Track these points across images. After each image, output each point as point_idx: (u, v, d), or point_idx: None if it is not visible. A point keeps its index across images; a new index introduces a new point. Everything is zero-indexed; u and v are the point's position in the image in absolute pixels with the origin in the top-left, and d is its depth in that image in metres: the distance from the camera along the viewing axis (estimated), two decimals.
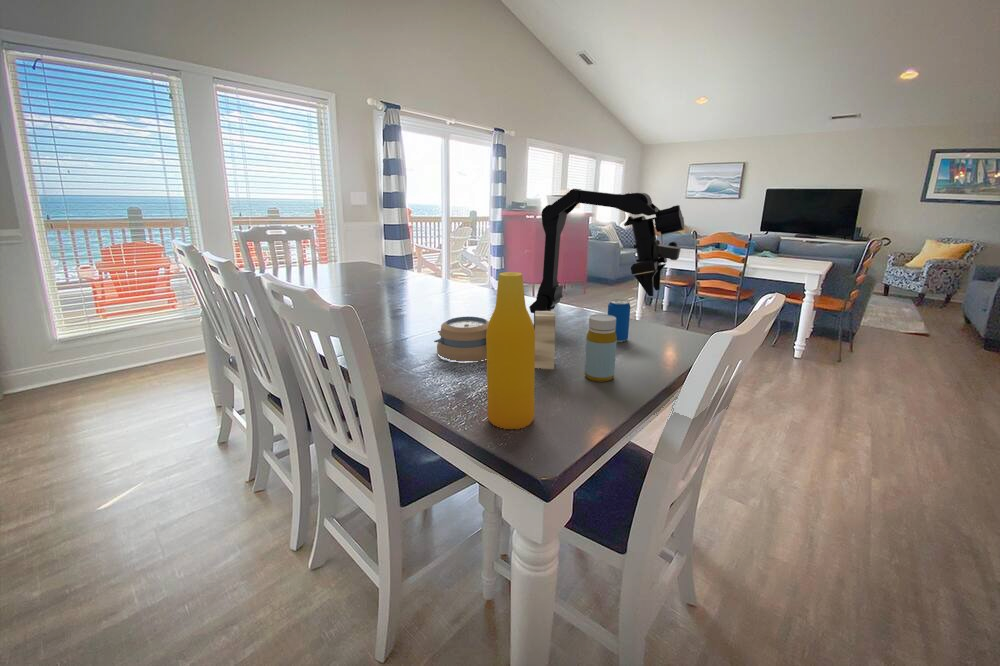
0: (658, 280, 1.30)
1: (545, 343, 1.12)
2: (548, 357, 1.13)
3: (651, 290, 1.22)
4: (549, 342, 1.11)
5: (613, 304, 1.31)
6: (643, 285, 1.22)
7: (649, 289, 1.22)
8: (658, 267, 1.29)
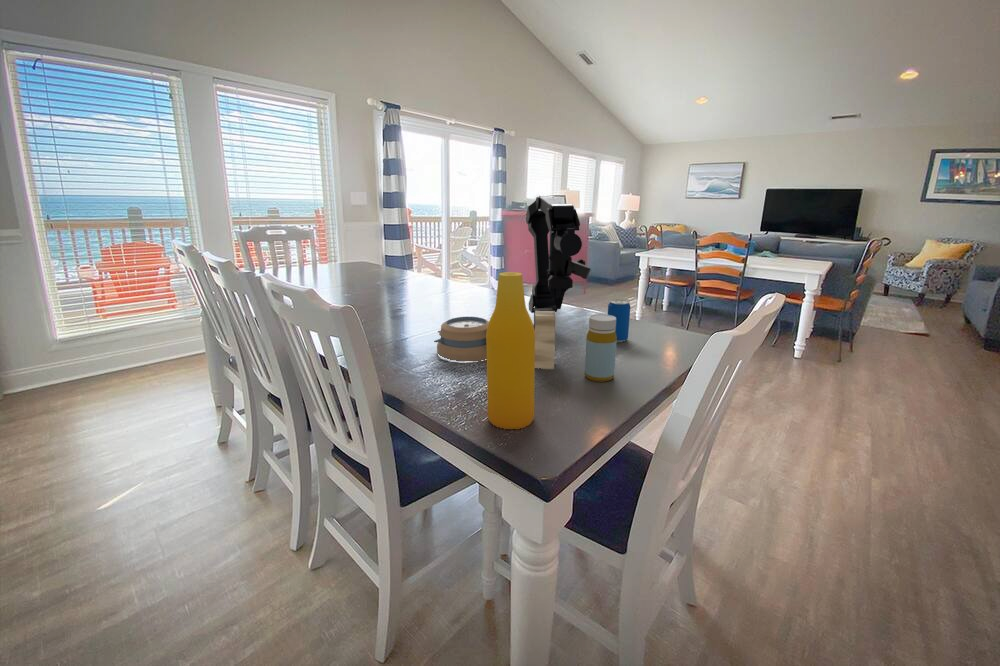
0: None
1: (545, 343, 1.12)
2: (548, 357, 1.13)
3: (560, 303, 1.23)
4: (549, 342, 1.11)
5: (613, 304, 1.31)
6: (554, 297, 1.22)
7: (558, 302, 1.23)
8: None
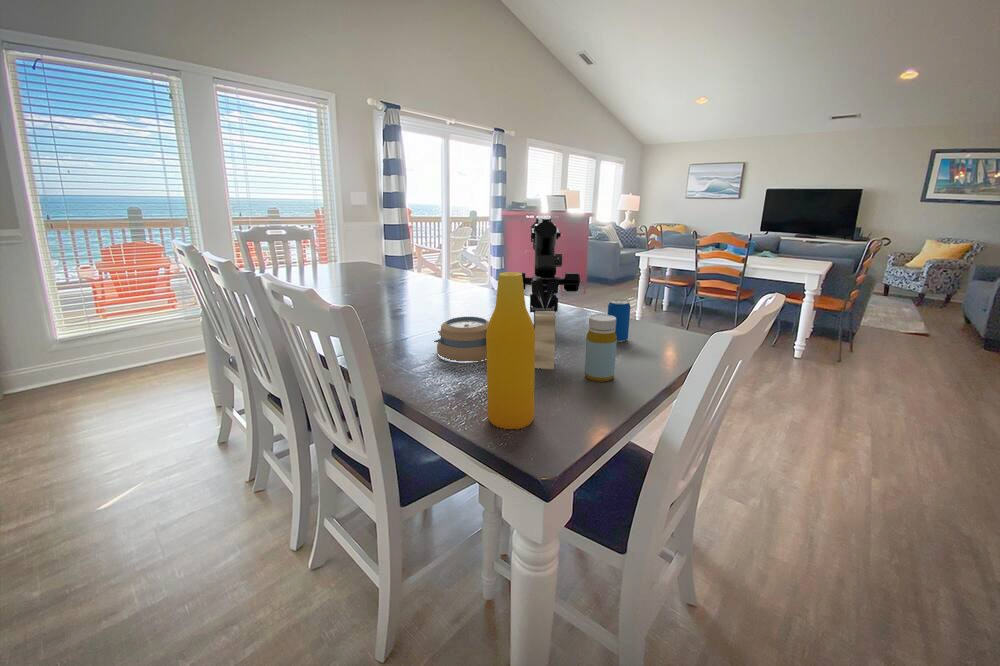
0: (545, 298, 1.20)
1: (545, 343, 1.12)
2: (548, 357, 1.13)
3: (541, 302, 1.20)
4: (549, 342, 1.11)
5: (613, 304, 1.31)
6: (539, 299, 1.22)
7: (542, 302, 1.20)
8: (547, 285, 1.21)
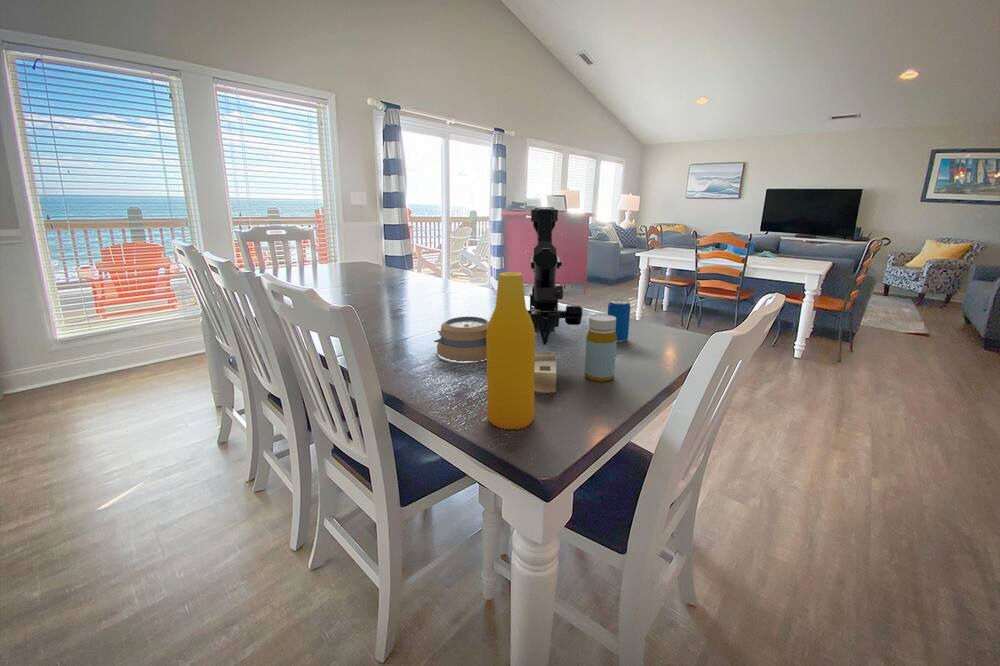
0: (545, 333, 1.12)
1: None
2: None
3: (541, 337, 1.12)
4: None
5: (613, 304, 1.31)
6: (539, 334, 1.14)
7: (541, 337, 1.12)
8: None
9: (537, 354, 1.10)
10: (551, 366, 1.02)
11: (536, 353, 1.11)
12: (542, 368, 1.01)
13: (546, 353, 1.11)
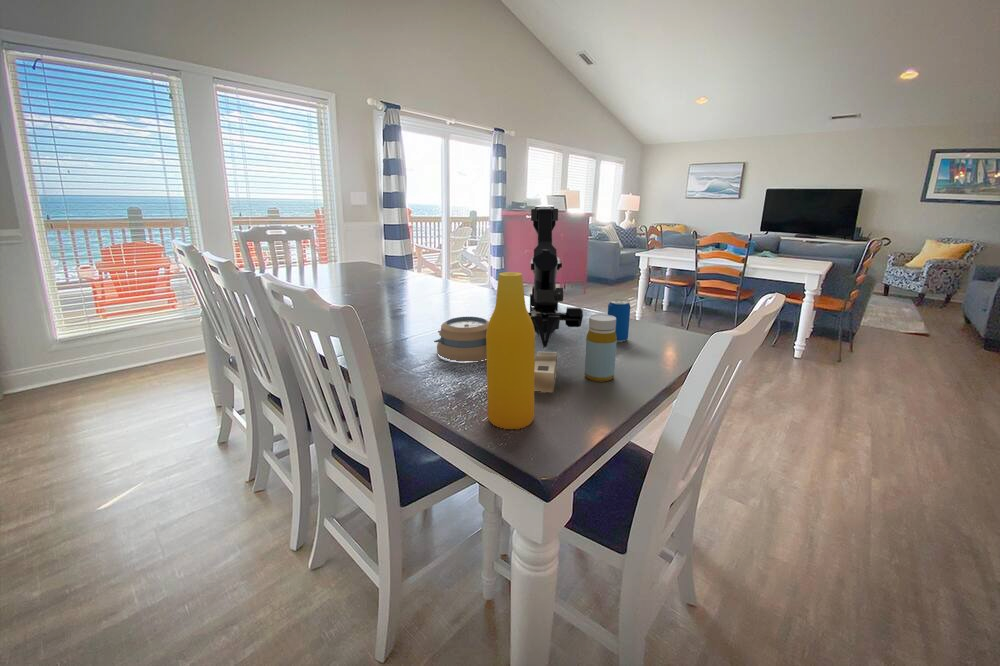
0: None
1: None
2: None
3: (541, 339, 1.10)
4: None
5: (613, 304, 1.31)
6: (539, 336, 1.13)
7: (541, 340, 1.11)
8: None
9: (538, 354, 1.10)
10: (550, 366, 1.02)
11: (538, 353, 1.11)
12: (540, 368, 1.01)
13: (548, 353, 1.11)
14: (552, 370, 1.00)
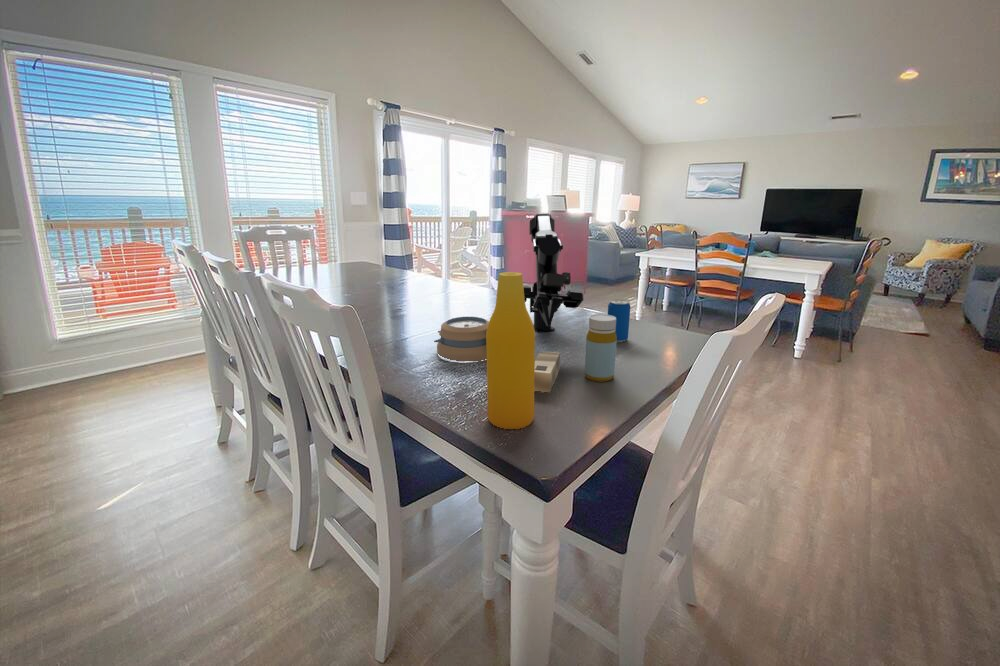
0: (549, 315, 1.20)
1: None
2: None
3: (545, 319, 1.20)
4: None
5: (613, 304, 1.31)
6: (542, 315, 1.22)
7: (545, 319, 1.20)
8: (551, 302, 1.21)
9: (540, 354, 1.10)
10: (548, 366, 1.02)
11: (540, 353, 1.11)
12: (538, 368, 1.01)
13: (550, 353, 1.10)
14: (550, 370, 1.00)
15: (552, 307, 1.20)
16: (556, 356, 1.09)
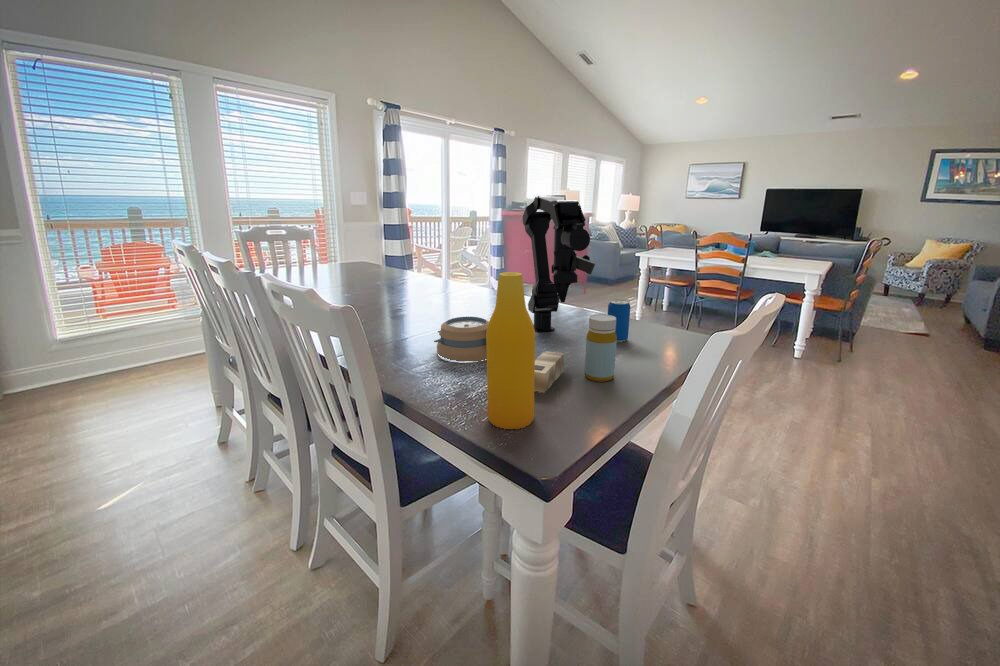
0: None
1: None
2: None
3: (564, 297, 1.26)
4: None
5: (613, 304, 1.31)
6: (558, 291, 1.25)
7: (562, 296, 1.26)
8: None
9: (543, 354, 1.10)
10: (546, 366, 1.02)
11: (544, 353, 1.11)
12: (535, 367, 1.01)
13: (554, 354, 1.10)
14: (546, 370, 1.00)
15: None
16: (558, 357, 1.08)
